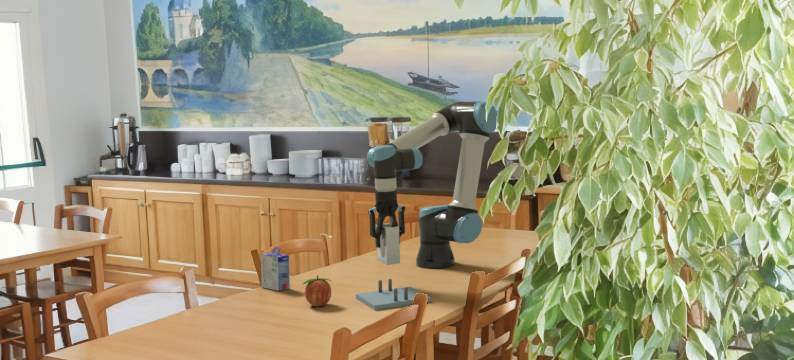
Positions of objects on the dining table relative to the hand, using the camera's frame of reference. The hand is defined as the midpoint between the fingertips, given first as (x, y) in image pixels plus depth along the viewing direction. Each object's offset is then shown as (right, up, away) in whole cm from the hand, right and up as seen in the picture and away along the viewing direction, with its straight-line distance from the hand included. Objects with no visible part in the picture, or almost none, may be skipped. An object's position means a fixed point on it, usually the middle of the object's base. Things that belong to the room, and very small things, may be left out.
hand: (388, 255), depth 296 cm
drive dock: (+2, -13, -18) cm, 22 cm away
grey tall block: (0, -2, 0) cm, 2 cm away
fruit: (-23, -15, -22) cm, 35 cm away
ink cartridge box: (-40, -12, +4) cm, 42 cm away
